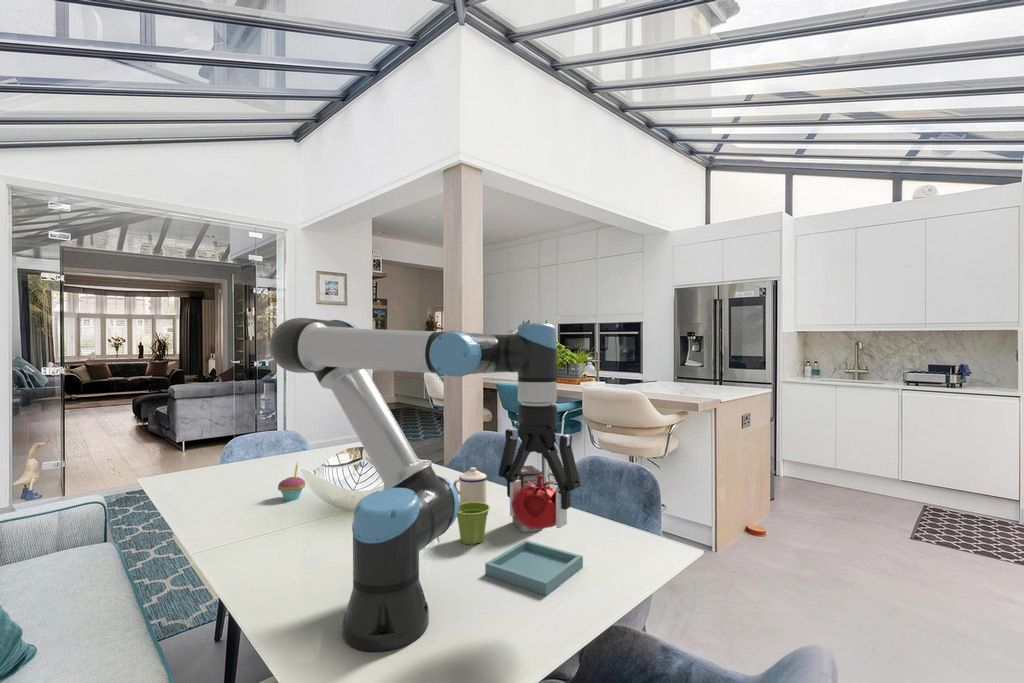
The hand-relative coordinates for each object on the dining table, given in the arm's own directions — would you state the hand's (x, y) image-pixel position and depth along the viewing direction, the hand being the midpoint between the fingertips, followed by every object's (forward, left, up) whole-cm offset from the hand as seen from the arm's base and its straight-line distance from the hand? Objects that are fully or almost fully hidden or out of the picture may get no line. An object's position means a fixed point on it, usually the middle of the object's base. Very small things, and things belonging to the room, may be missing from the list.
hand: (537, 519), depth 92 cm
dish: (+14, +10, -18) cm, 25 cm away
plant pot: (+19, +33, -18) cm, 42 cm away
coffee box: (+36, +27, -18) cm, 48 cm away
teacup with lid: (+42, +54, -18) cm, 71 cm away
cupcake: (+11, +107, -18) cm, 109 cm away
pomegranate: (0, 0, -1) cm, 1 cm away
